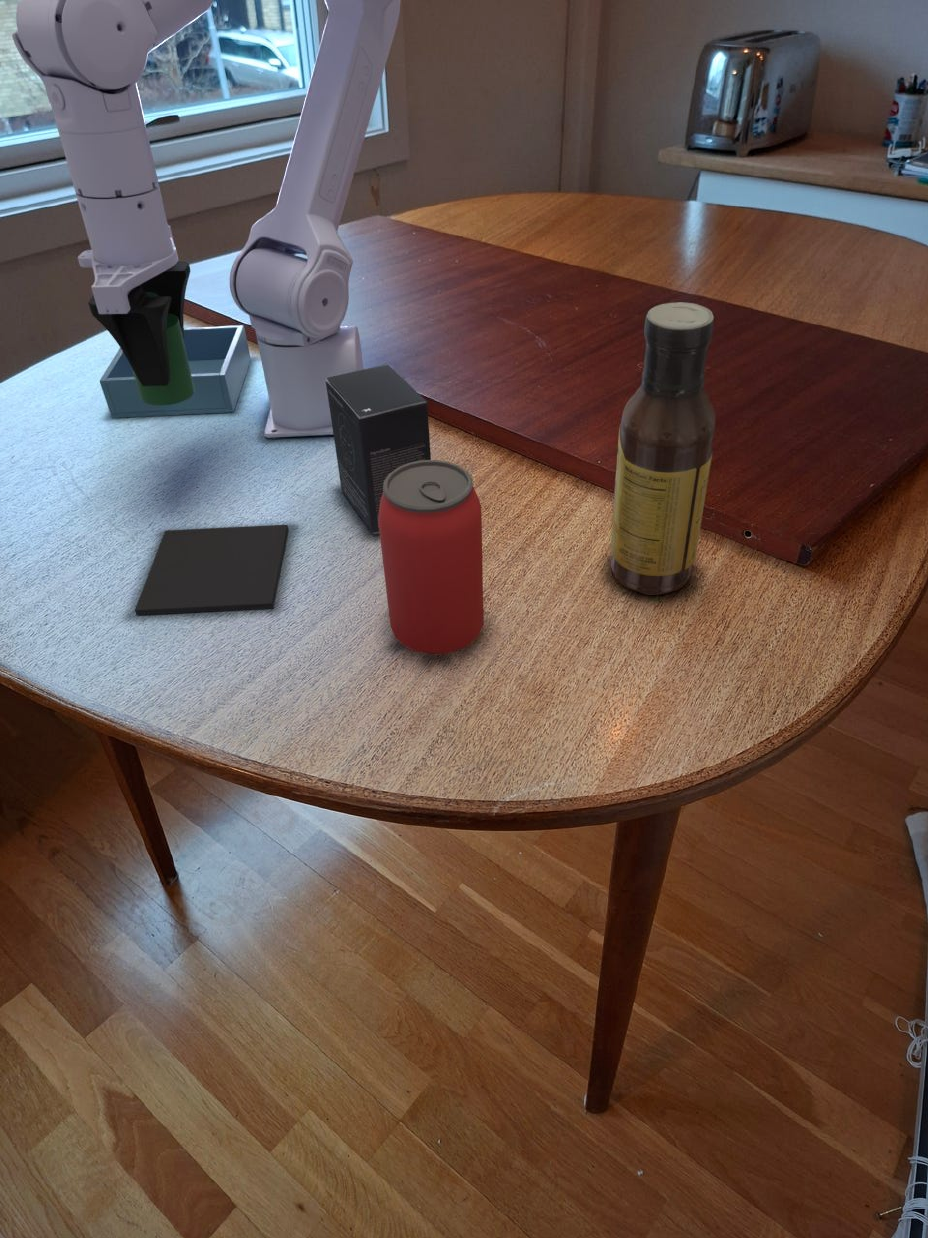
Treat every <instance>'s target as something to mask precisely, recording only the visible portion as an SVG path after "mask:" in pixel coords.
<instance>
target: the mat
mask: <svg viewBox="0 0 928 1238" xmlns="http://www.w3.org/2000/svg"><path fill="white" fill-rule="evenodd" d="M288 533H289V525H288V524H271V525H269V524H268V525H251V526H232V527H231V526H230V527H229V526H228V527H212V528H211V527H208V528H194V529H193V528H192V529H191V528H190V529H189V528H188V529H171V530H167V529H166V530H164V532H163V535H162V537H161V541H160V543H159V546H158V548H157V551H156V554H155V557H154V559H153V562H152V564H151V567H150V570H149V572H148V574H147V578H146V580H145V582H144V585H143V587H142V590H141V593H140V595H139V598H138V601H137V603H136V606H135V608H134V612H135V615H136V616H145V615H166V614H185V613H186V614H187V613H203V612H205V613H206V612H223V611H225V612H227V611H245V610H263V609H265V610H266V609H267V610H268V609H274V605H275V601H276V595H277V590H278V585H279V579H280V574H281V569H282V564H283V560H284V559H283V558H284V554H285V550H286V544H287V543H286V542H287V538H288Z"/></svg>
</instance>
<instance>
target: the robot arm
mask: <svg viewBox="0 0 928 1238" xmlns="http://www.w3.org/2000/svg"><path fill="white" fill-rule="evenodd" d="M401 1H402V0H324V3H325V5H326V8H327V12H328V13H327V18H326V21H325V25H324V29H323V33H322V36H321V39H320V43H319V47H318V51H317V55H316V58H315V62H314V65H313V70H312V73H311V77H310V81H309V85H308V88H307V92H306V96H305V98H304V103H303V107H302V111H301V114H300V116H299V117H300V118H299V122H298V125H297V128H296V132H295V136H294V140H293V144H292V147H291V151H290V154H289V159H288V162H287V166H286V169H285V173H284V177H283V180H282V184H281V187H280V191H279V195H278V198H277V202H276V205H275V207H274V208H272V210H270V211H269V212H268V213H266V214H264V216H262V217H261V218H260V219H258V220H257V221H256V222H255V223H254V224H252V226H251V229H250V232H249V236H248V238H247V241H246V243H245V245H244V247H243V248H242V249H241V251H240V252H239V253H238V254H237V256H236V257H235V259H234V261H233V262H232V265H231V268H230V272H229V290H230V294H231V297H232V299H233V301H234V302H233V303H235V305H236V306H237V307H238V309H239V310H240V311H242V313H244V314H246V315H248V316H249V321H250V326H251V328H252V329H254V331H255V335H256V341H257V347H258V352H259V356H260V361H261V366H262V372H263V377H264V381H265V386H266V392H267V397H268V402H269V406H270V407H269V412H268V416H267V420H266V424H265V427H264V430H263V433H264V434H263V435H264V437H265V438H268V439H269V438H290V437H291V438H293V437H309V436H311V437H312V436H330V435H331V436H334V435H333V428H332V421H331V415H330V408H329V401H328V394H327V388H326V382H325V380H326V378H328V377H332V376H337V375H342V374H346V373H350V372H355V371H359V370H364V363H363V354H362V353H363V352H362V346H361V338H360V333H359V328H358V327H357V326H354V325H343V324H342V323H343V321H344V319H345V317H346V314H347V311H348V308H349V307H348V306H349V298H350V296H349V282H350V274H351V270H352V267H353V264H354V260H353V257H352V255H351V254H350V252H349V250H348V249H347V247H346V245H345V244H344V242H343V240H342V237H341V236H340V235H339V232H338V231H339V227H340V223H341V220H342V217H343V213H344V209H345V206H346V202H347V199H348V196H349V192H350V188H351V185H352V182H353V179H354V176H355V171H356V168H357V165H358V162H359V157H360V155H361V151H362V148H363V144H364V141H365V137H366V134H367V131H368V126H369V123H370V120H371V116H372V114H373V109H374V106H375V102H376V99H377V95H378V93H379V90H380V85H381V82H382V79H383V75H384V72H385V68H386V65H387V62H388V59H389V54H390V50H391V49H392V43H393V41H394V38H395V34H396V30H397V28H398V27H397V26H398V23H399V18H400V13H401ZM213 3H214V0H21V1H20V2H17V5H16V6H17V7H16V12H15V19H16V20H15V21H16V22H15V23H16V29H17V30H15V32H13V33H12V35H11V37H12V41H13V42H14V45H15V48H16V49H17V51H18V53H19V55H20V57H21V59H23V61H24V63H26V65H27V66H28V67H29V68H30V69H31V70H32V71H33V72H34V73H35V74H36V75H37V76H38V77H39V78H40V81H41V82H42V83H43V86H44V88H45V92H46V95H47V98H48V102H49V104H50V106H51V110H52V114H53V117H54V121H55V126H56V128H57V131H58V136H59V139H60V143H61V146H62V149H63V153H64V157H65V160H66V163H67V168H68V171H69V175H70V178H71V182H72V185H73V189H74V192H75V196H76V199H77V200H76V201H77V203H78V207H79V209H80V210H79V211H80V213H81V217H82V221H83V224H84V227H85V231H86V235H87V239H88V242H89V246H90V249H87V250H83V251H82V252H81V253H80V254H79V255H78V256H77V261H78V265H79V267H81V268H92V270H93V276H94V281H93V284H92V285H91V287H90V288H91V292H92V296H91V298H90V299H89V300H88V301H87V303H88V307H89V310H90V313H91V315H92V316H93V317H94V319H96V320H97V321H98V322H99V323H100V324H101V325H102V326H103V327H104V328H105V330H107V332H108V333H109V334H110V335H111V337H112V338H113V339H114V341H115V342H116V344H117V345H118V347H119V349H120V348H121V349H122V351H123V353H124V355H125V356H126V358H127V360H128V362H129V364H130V365H131V367H132V369H133V371H134V373H135V374H136V376H137V378H138V380H139V381H140V383H141V384H142V386H166V385H168V383H169V380H170V365H169V356H168V348H167V317H168V313H169V314H173V315H175V316H177V317H178V319H179V323H180V327H181V332H182V336H183V340H184V328H185V327H184V323H185V321H184V311H185V309H184V308H185V299H186V292H187V286H188V281H189V277H190V275H191V266H190V263H189V262H187V261H180V260H179V255H178V251H177V249H176V246H175V242H174V236H173V232H172V227H171V225H170V224H168V219H167V215H166V210H165V206H164V200H163V196H162V192H161V188H160V184H159V179H158V175H157V170H156V165H155V161H154V156H153V153H152V147H151V144H150V143H151V142H150V139H149V134H148V129H147V124H146V119H145V116H144V110H143V106H142V101H141V96H140V92H139V89H138V82H139V80H140V79H141V78H142V76H143V74H144V71H145V69H146V65H147V61H148V54H149V53H151V52H152V51H153V50H156V49H157V48H158V47H159V46H160V45H162V44H163V43H165V42H166V41H168V40H169V39H170V38H172V37H173V36H175V35H176V34H177V33H179V32H180V31H181V30H183V29H184V28H186V27H187V26H189V25H190V24H192V23H193V22H194V21H196V20H197V19H199V18H200V17H201V16H202V15H204V14H205V13H207V12H208V11H209V10H210V9H211V7H212V5H213ZM299 255H303V256H306V257H303V256H299ZM143 292H145V293H143ZM147 292H153V293H156V294H157V295H158V297H148V294H147Z"/></svg>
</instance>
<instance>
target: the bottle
mask: <svg viewBox="0 0 928 1238" xmlns="http://www.w3.org/2000/svg"><path fill="white" fill-rule="evenodd" d="M143 293H145V292H143ZM147 294H148V297H158V295H157V294H156V293H153V292H147ZM167 348H168V356H169V365H170V380H169V383H168V385H166V386H142V384H141V383H140V381H139V380H138V378H137V376H136V374H135V373H134V371H133V373H134V377H135V381H136V384H137V388H138V391H139V395H140V399H141V400H142V401H143V402H144V403H146V404H150V405H157V406H163V405H172V404H176V403H180V402H183V401H185V400H187V399H189V398H190V397H191V396H192V395H193V394H194V392H195V388H194V384H193V380H192V375H191V371H190V366H189V362H188V358H187V353H186V349H185V345H184V340H183V336H182V332H181V327H180V323H179V319H178V317H177V316H175V315H173V314H169V313H168V317H167ZM132 370H133V369H132Z"/></svg>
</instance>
